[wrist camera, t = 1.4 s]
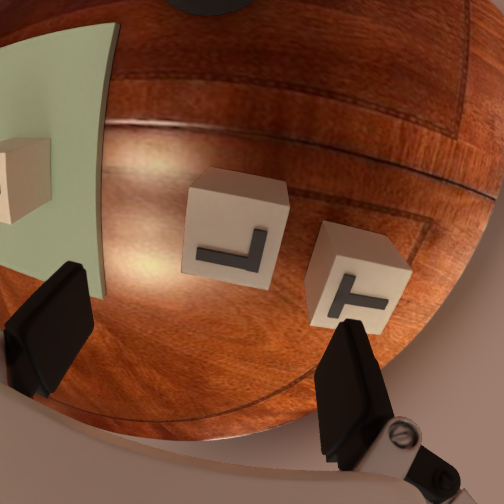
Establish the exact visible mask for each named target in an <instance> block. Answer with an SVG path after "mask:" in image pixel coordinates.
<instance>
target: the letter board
mask: <svg viewBox="0 0 504 504" xmlns="http://www.w3.org/2000/svg"><path fill="white" fill-rule="evenodd" d="M119 29H120V24H118V23H116V22H114V23H105V24H98V25H91V26H84V27H79V28H73V29H68V30H63V31H58V32H54V33H50V34H45V35H41V36H38V37H34V38H30V39H27V40H23V41H20V42H17V43H14V44H11V45H8V46H5V47H2V48H0V142H1V141H4V140H7V139H10V138H50V139H51V144H50V178H51V201H49V202H47V203H45V204H44V205H42V206H40V207H39V208H37V209H35V210H34V211H32V212H30V213H29V214H27V215H26V216H24V217H22V218H21V219H19V220H18V221H16V222H15V223H13V224H12V225H10V224H7V223H3V222H0V265H2V266H5V267H8V268H10V269H13V270H15V271H18V272H21V273H23V274H26V275H29V276H32V277H34V278H37V279H40V280H43V281H46V280H47V279H49V278H50V277H51V276H52V275H53V274H54V273H55V272H56V271H57V270H58V269H59V268H60V267H61V266H62V265H63V264H64V263H65V262H67V261H73V262H77V263H81V264H82V265H83V268H84V269H86V272H87V280H88V288H89V295H90V296H92V297H95V298H99V299H102V300H103V298H104V297H105V296H106V288H105V278H104V266H103V253H102V234H101V163H102V145H103V132H104V121H105V111H106V103H107V95H108V88H109V81H110V75H111V69H112V63H113V58H114V52H115V47H116V43H117V38H118V34H119Z"/></svg>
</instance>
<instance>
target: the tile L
mask: <svg viewBox="0 0 504 504" xmlns="http://www.w3.org/2000/svg"><path fill="white" fill-rule="evenodd" d="M289 210H290V203H289V197H288V191H287V185H286V182H285V181H281V180H276V179H271V178H266V177H262V176H257V175H252V174H246V173H241V172H236V171H231V170H225V169H219V168H214V167H209V168H208V169H207V170H206V171H205V172H204V173H203V174H202V175H201V176H200V177H199V178H198V179H197V180H196V181H195V182H194V183H193V184H192V185H191V186H190V187H189V193H188V201H187V210H186V220H185V229H184V240H183V251H182V263H181V273H185V274H190V275H195V276H200V277H204V278H209V279H214V280H219V281H224V282H229V283H234V284H239V285H244V286H249V287H254V288H259V289H264V290H269V286H270V283H271V279H272V275H273V271H274V268H275V264H276V260H277V256H278V253H279V249H280V245H281V241H282V237H283V233H284V229H285V225H286V222H287V218H288V214H289Z"/></svg>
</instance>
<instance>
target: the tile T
mask: <svg viewBox="0 0 504 504" xmlns="http://www.w3.org/2000/svg"><path fill="white" fill-rule="evenodd" d="M412 272H413V271H412V269H411V268H410V267H409V265H408V264H407V262H406V261H405V260H404V258H403V257H402V255H401V254H400V253H399V251H398V250H397V249H396V247H395V246H394V245H393V243H392V242H391V241H390V239H389V238H388V237H387V236H386V235H382V234H378V233H374V232H370V231H366V230H362V229H358V228H354V227H350V226H346V225H342V224H337V223H333V222H329V221H325V220H323V221H322V225H321V228H320V231H319V234H318V238H317V241H316V244H315V247H314V251H313V254H312V257H311V260H310V263H309V266H308V269H307V272H306V275H305V278H304V287H305V294H306V301H307V308H308V316H309V323H310V325H311V326H318V327H324V328H331V329H336V328H337V326H338V324H339V322H343V321H344V320H345V319H346V318H348V319H355V320H361V321H362V322H363V325H364V328H365V331H366V333H369V334H377V335H380V334H381V332H382V330H383V329H384V327H385V325H386V323H387V322H388V320H389V318H390V316H391V314H392V312H393V310H394V309H395V307H396V305H397V303H398V301H399V299H400V297H401V295H402V293H403V291H404V289H405V287H406V285H407V283H408V281H409V279H410V277H411V274H412Z"/></svg>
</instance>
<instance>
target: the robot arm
mask: <svg viewBox="0 0 504 504" xmlns="http://www.w3.org/2000/svg"><path fill="white" fill-rule="evenodd" d="M4 325H5V328H6V329H5V330H4V331H2V329H1V328H0V504H477V503H476V502H475V501H474V499H473V498H472V497H471V496H470V494H469V493H468V492H467V491H466V490H465V488H464V489H462V490H461V489H460V484H461V483H460V476H459V473H458V472H457V470H456V469H455V468H454V467H453V466H451V465H450V464H448V463H447V462H445V461H444V460H443V459H441V458H440V457H438V456H437V455H435V454H434V453H432V452H430V451H429V450H428V449H427V448H425V447H424V446H422V445H421V442H422V433H421V431H420V428H419V427H418V426H417V424H416V423H415V422H413V421H412V420H411V419H409V418H406V417H401V416H398V417H394V413H393V410H392V406H391V403H390V400H389V396H388V393H387V390H386V387H385V383H384V380H383V377H382V374H381V370H380V367H379V364H378V362H377V360H376V358H375V357H374V354H373V351H372V348H371V345H370V342H369V339H368V336H367V334H366V331H365V328H364V325H363V322H362V321H361V320H355V319H348V318H346V319H345V320H344V321H343V322H339V324H338V326H337V328H336V330H335V332H334V334H333V336H332V338H331V340H330V343H329V345H328V347H327V349H326V351H325V353H324V355H323V357H322V359H321V361H320V363H319V365H318V367H317V369H316V371H315V375H314V382H315V391H316V400H317V410H318V419H319V429H320V440H321V451H322V454H323V455H326V462H338V468H339V470H338V471H304V470H302V471H301V470H286V469H272V468H260V467H251V466H243V465H236V464H229V463H222V462H216V461H210V460H205V459H200V458H195V457H191V456H186V455H181V454H177V453H173V452H169V451H165V450H161V449H157V448H153V447H150V446H147V445H143V444H140V443H137V442H134V441H130V440H127V439H124V438H121V437H118V436H116V435H112V434H110V433H107V432H104V431H102V430H99V429H96V428H94V427H91V426H89V425H86V424H84V423H82V422H79V421H77V420H74V419H72V418H70V417H68V416H65V415H63V414H61V413H59V412H57V411H55V410H53V409H51V408H49V407H47V406H45V405H43V404H41V403H38V402H37V401H35V400H34V399H33V395H34V394H35V392H36V393H37V394H39V395H41V396H43V397H45V398H48V397H49V395H50V393H53V392H55V390H56V389H57V387H58V385H59V384H60V382H61V380H62V379H63V377H64V375H65V374H66V372H67V370H68V369H69V367H70V366H71V364H72V362H73V361H74V359H75V357H76V356H77V354H78V353H79V351H80V350H81V348H82V346H83V345H84V343H85V342H86V340H87V339H88V337H89V336H90V334H91V333H92V331H93V328H94V320H93V314H92V308H91V302H90V295H89V288H88V280H87V272H86V269H84V268H83V265H82V264H81V263H77V262H73V261H67V262H65V263H64V264H63V265H62V266H61V267H60V268H59V269H58V270H57V271H56V272H55V273H54V274H53V275H52V276H51V277H50V278H49V279H47V280H46V281H45V282H44V283H43V284H42V285H41V286H40V287H39V288H38V289H37V290H36V291H35V292H34V293H33V294H32V295H31V296H30V298H29V299H28V300H27V301H26V302H25V303H24V304H23V305H22V306H21V307H20V308H19V309H18V310H17V311H16V312H15V313H14V314H13V316H12V317H11V318H10V319H9V320H8V321H7V322H6V323H5V324H4Z"/></svg>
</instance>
